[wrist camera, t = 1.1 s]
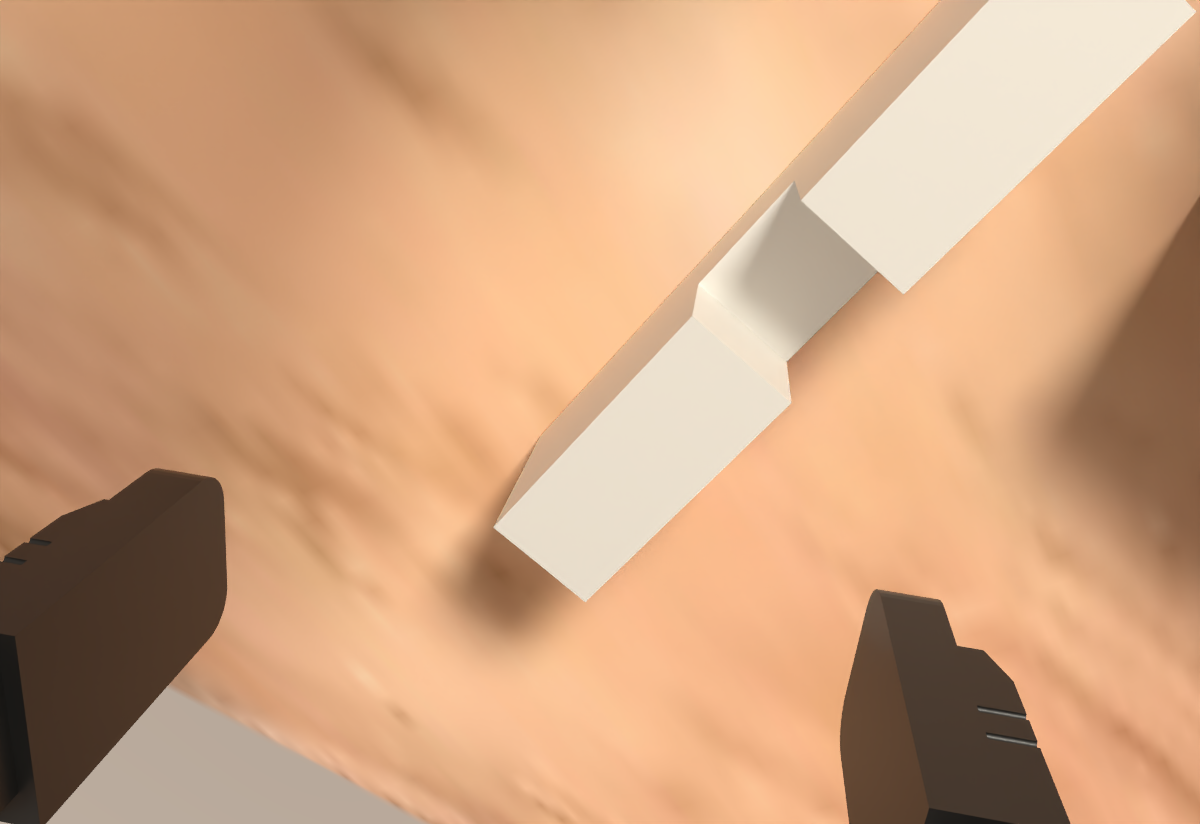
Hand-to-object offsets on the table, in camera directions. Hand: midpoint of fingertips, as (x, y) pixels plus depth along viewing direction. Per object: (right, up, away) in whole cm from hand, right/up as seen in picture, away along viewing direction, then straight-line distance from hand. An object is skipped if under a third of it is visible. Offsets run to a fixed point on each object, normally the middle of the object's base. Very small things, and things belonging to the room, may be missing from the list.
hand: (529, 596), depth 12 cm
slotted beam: (+8, +8, +24) cm, 27 cm away
